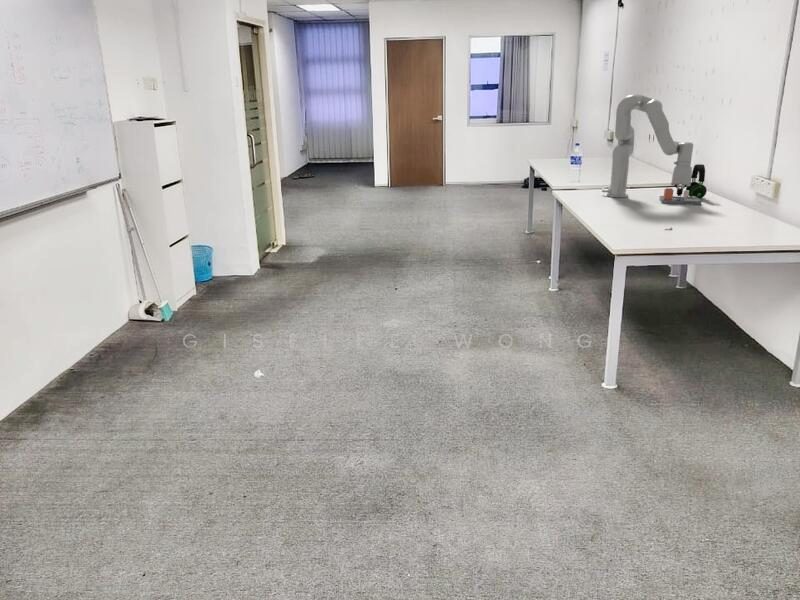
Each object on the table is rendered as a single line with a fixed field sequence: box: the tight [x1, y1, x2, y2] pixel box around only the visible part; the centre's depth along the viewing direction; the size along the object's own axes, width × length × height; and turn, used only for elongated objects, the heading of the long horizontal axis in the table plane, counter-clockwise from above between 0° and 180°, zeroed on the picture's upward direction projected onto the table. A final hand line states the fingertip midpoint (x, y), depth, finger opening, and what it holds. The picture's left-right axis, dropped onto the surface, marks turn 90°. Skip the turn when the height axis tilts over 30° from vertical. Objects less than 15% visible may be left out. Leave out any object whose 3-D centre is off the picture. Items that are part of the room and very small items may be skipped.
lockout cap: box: [663, 187, 675, 200], centre depth 369 cm, size 4×4×6 cm
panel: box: [659, 195, 702, 206], centre depth 371 cm, size 21×15×3 cm
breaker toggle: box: [682, 189, 690, 197], centre depth 372 cm, size 2×4×4 cm, turn 163°
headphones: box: [685, 163, 708, 199], centre depth 381 cm, size 9×16×20 cm, turn 173°
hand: (679, 195), depth 374 cm, fingers closed
